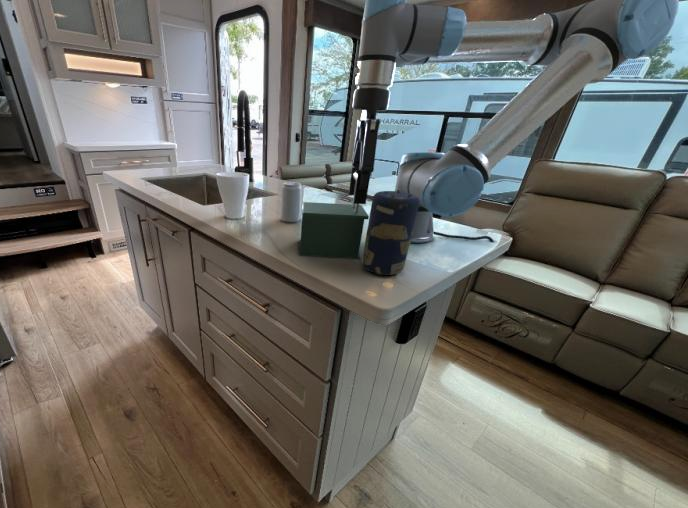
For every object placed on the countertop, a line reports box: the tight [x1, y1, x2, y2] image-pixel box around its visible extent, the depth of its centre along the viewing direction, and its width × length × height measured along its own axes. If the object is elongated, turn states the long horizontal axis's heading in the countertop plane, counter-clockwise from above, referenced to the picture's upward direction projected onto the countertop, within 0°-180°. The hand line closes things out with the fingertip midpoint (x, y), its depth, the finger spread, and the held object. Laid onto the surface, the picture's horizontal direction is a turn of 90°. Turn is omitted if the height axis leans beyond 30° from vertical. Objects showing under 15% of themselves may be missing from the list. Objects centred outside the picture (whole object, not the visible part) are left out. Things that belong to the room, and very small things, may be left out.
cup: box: [215, 171, 250, 220], centre depth 104 cm, size 10×10×14 cm
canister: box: [361, 189, 419, 276], centre depth 69 cm, size 10×10×18 cm
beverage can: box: [280, 181, 303, 224], centre depth 103 cm, size 6×6×12 cm
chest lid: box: [301, 172, 370, 220], centre depth 77 cm, size 16×11×10 cm
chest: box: [299, 208, 365, 259], centre depth 81 cm, size 15×11×10 cm
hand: (356, 198), depth 77 cm, fingers open, 9 cm apart
